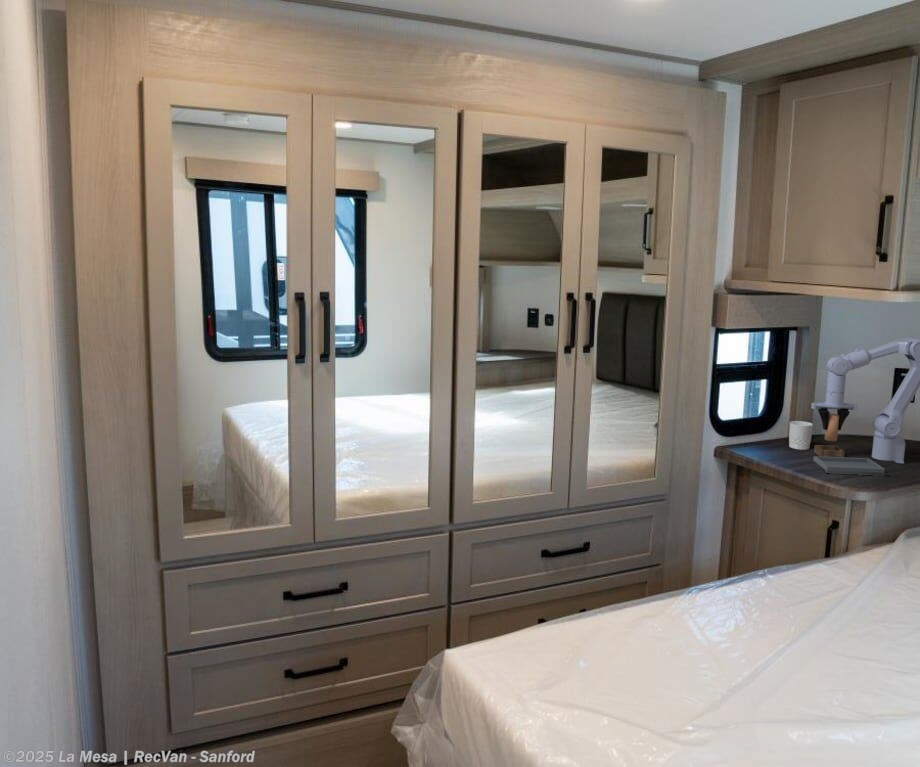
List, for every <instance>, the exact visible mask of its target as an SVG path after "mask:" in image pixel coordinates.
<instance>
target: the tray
mask: <svg viewBox="0 0 920 767" xmlns="http://www.w3.org/2000/svg"><path fill="white" fill-rule="evenodd" d="M813 462H814V463H816V464H817V465H818V466H819V467H821V468H822V470H823V471H824V472H823V471H822V472H823V473H825V472H826V473H830V474H829V475H836V474H858V475H857V476H861V475H873V476H872V477H885V473H886V469H885V468H884V467H882V466H881V465H879V464H878V463H876V462H875V461H874V460H872V459H870V458H869V457H845V456H844V457H820V456H819V455H818V456H815V455H814V456H813ZM826 473H825V474H826ZM831 473H832V474H831Z"/></svg>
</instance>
